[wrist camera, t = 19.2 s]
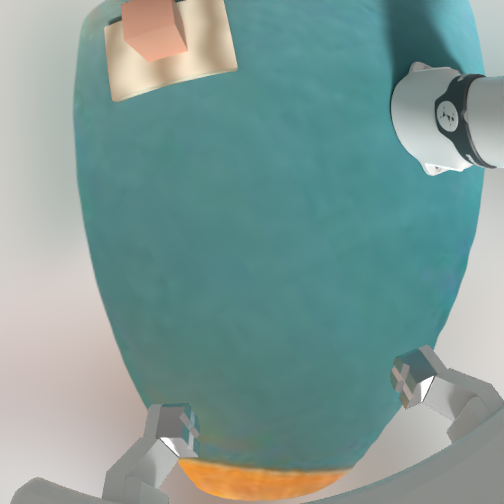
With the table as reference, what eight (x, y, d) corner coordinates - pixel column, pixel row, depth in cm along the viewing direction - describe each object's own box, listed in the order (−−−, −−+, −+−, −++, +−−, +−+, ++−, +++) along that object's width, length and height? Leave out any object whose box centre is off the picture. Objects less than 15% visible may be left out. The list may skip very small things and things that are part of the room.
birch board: (222, -1, 24) (221, -7, 22) (237, 70, 28) (237, 66, 27) (109, 31, 24) (104, 27, 22) (118, 102, 28) (112, 100, 27)
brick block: (182, 20, 23) (169, -12, 15) (188, 51, 25) (175, 24, 17) (144, 31, 23) (121, 4, 15) (148, 62, 25) (123, 40, 17)
